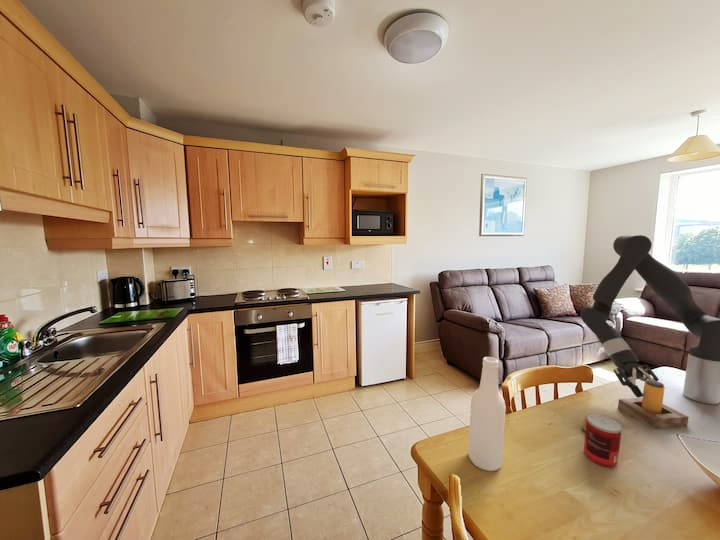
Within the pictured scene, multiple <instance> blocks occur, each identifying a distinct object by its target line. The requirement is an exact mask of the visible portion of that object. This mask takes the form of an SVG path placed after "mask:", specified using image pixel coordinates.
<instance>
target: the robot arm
mask: <svg viewBox="0 0 720 540" xmlns="http://www.w3.org/2000/svg"><path fill="white" fill-rule="evenodd" d="M652 245H653V243H652V241H651V239H650V238H649V237H648V236H646V235H643V234H623V235H619V236H617V237H616V238H615V240H613V245H612V246H613V250H614V252H615V253H616V254H617V255H618V256H619V259H618V261H617V262H616V264H615V265H614V267H613V268H612V269H611V270H610V271H609V272H608V273H607V274H606V275H605V276H604V277H603V278H602V280H601V281H600V282H599V284H598V285H597V287H596V289H595V291H594V293H593V294H592V300H593V305H592V306H591V305H590V306H585V307H582V309H580V312H579V313H580V314H579V315H580V318H581V321H582V322H583V323H584V324H585V325H586V327H587V328H588V329H589V330H590V331H591V332H592V333H593V334H594V335H595V336H596V338H597V339H598V341H599V342H600V344H601V345H602V347H603V349H604V351H605V352H606V354H607V356H608V357H609V358H610V361H612V363H613V364H614V366H615V367H616V368H615V369H612V371H613V372H614V374H615V375H616V377H617V379H618V380H619V382H620V384H621V385H622V386H624V387H626V386H627V387H628V388H629V389H630V390H631V392H632V393H633V395H634V396H635V398H643V396H644V395H643V392H642V390H641V389H640V388H639V386H638V385H636V380H640V381H641V382H643V383H644V382H645V381H646V380H654V381H658V382H659V380H660V379H659V377H658V376H657V375H656V374H655V372H654V371H652V368H650V366H649V365H648V364H645V365H644V364H643V365H642V366H641V364H639V362H640V359H639V358H638V357H637V354H635V353H634V351H633V350H632V348H631V347H630V346H629V344H628V343H627V342H626V341H625V340H624V338H623V337H622V336H621V334H619V332H618V330H617V329H616V328H614V327H613V326H612V325H610V324H609V323H608V322H607V321H608V319H609V318H610V315H611V311H612V308H613V303H614V302H615V300H616V299H617V297H618V296H619V293H620V291H621V289H622V288H623V287H624V285H625V283H626V281H627V280H628V279H629V278H630V276H631V275H632V273H634V271H636V272H637V273H638V275H639V276H640V277H641V278H642V280H644V282H645V283H646V284H647V285H648V286H649V288H650V289H651V290H652V291H653V292H654V293H655V294H656V295H657V296H658V297H659V298H660V299H661V300H662V301H664V303H665V304H666V305H667V307H669V308H670V309H671V310H672V311H673V312H674V313H675V315H677V317H678V319H679V320H680V321H681V322H682V323H683V325H684V326H685V328H686V329H687V330H688V331H689V332H690V333H691V334H692V335H694V336H695V337H698V338H700V339H699V343H698V344H697V345H692V346H690V347H689V349H688V354H687V363H686V370H685V377H684V383H683V390H682V392H683V393H682V394H683V396H685V397H686V398H688V399H690V400H693V401H695V402H699V403H702V404H707V405H719V403H720V318H718V317H715V316H711V315H709V314H708V313H706V311H704V310H703V309H702V308H701V307H700V306H699V305H698V304H697V303H696V302H695V300H694V298H693V293H692V289H691V288H690V286H689V285H688V284H687V283H686V281H684V279H683V278H682V277H681V276H680V275H679V274H678V273H676V272H675V271H674V270H673V269H671V268H669V266H666V265H665V264H663V263H662V262H660V261H658V260H657V259H655V258H654V257H653V255H651V254H650V252H651V250H652Z"/></svg>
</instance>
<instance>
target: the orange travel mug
mask: <svg viewBox="0 0 720 540" xmlns="http://www.w3.org/2000/svg"><path fill="white" fill-rule="evenodd" d="M643 383H644V384H643V392H642V393H643V395H644V396H643V397H641V398H642V407H641V408H643V409H645V410H647V411H649V412H651V413H652V414H661V411H662V404H664V394H665V389H666V387H665V386H664V385H665V384H663V383H662V382H659V381H654V380H649V379H647V380H646V381H645V382H644V381H643Z"/></svg>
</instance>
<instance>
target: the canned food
mask: <svg viewBox="0 0 720 540" xmlns="http://www.w3.org/2000/svg"><path fill="white" fill-rule="evenodd" d="M586 417H587V421H586V431H584V432H585V433H584V443H583V451H584V454H585V456H586V457H587V458H588V459H589V460H590V461H592V462H594V464H597V465H599V466H602V467H606V468H613V467H616V466H617V464H618V462H619V453H620V445H621V439H622V438H621V437H622V426H621V424H620V423H618V422H617V421H615V420H614V419H612V418H611V417H608V416H606V415H602V414H597V413H591V414H588V415H587V416H586Z"/></svg>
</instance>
